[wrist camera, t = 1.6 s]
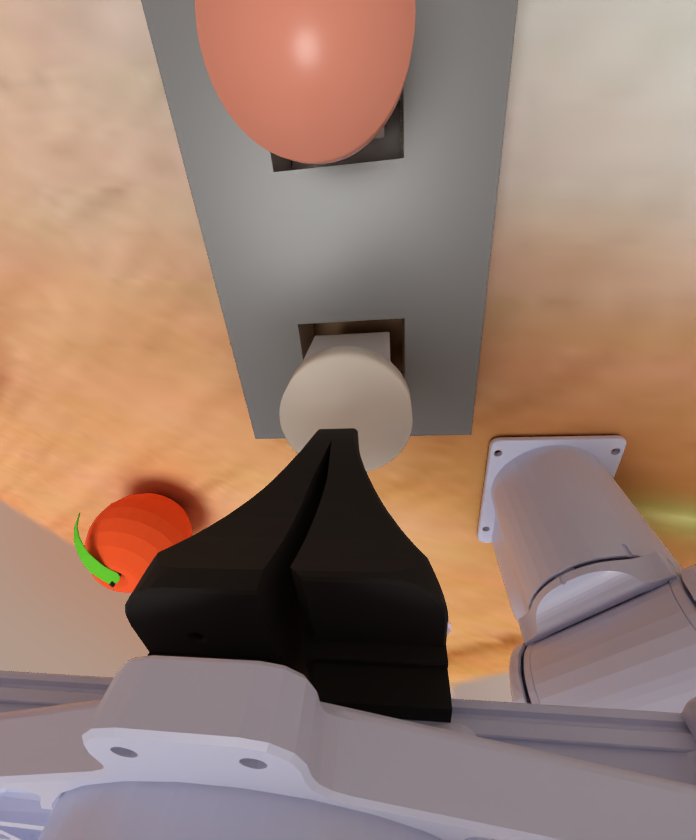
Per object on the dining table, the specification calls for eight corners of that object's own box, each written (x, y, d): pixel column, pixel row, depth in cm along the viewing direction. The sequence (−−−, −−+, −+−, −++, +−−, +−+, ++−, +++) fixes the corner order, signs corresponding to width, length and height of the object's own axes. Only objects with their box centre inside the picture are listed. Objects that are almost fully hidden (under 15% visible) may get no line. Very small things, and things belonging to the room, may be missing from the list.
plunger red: (406, 161, 14) (414, 151, 10) (273, 175, 15) (226, 171, 10) (405, -45, 11) (417, -183, 7) (242, -16, 12) (163, -128, 8)
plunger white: (406, 411, 20) (412, 473, 16) (311, 413, 21) (290, 474, 16) (406, 314, 17) (413, 356, 13) (296, 320, 18) (267, 363, 14)
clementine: (94, 487, 30) (21, 563, 24) (146, 450, 27) (78, 525, 21) (171, 545, 33) (123, 625, 27) (224, 517, 30) (184, 598, 24)
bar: (460, 402, 23) (471, 434, 20) (271, 408, 24) (255, 438, 21) (500, -74, 13) (534, -151, 10) (177, -18, 14) (123, -69, 11)
